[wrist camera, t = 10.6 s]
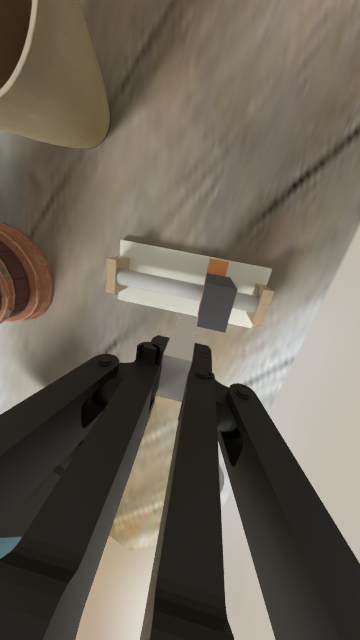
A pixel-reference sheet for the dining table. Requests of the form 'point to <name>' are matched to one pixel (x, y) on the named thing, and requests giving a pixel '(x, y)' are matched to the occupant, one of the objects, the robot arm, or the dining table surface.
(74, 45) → the plant pot
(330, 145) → the dining table surface
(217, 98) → the dining table surface
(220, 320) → the dark grey slider block
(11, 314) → the mug
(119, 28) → the dining table surface
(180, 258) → the rail
